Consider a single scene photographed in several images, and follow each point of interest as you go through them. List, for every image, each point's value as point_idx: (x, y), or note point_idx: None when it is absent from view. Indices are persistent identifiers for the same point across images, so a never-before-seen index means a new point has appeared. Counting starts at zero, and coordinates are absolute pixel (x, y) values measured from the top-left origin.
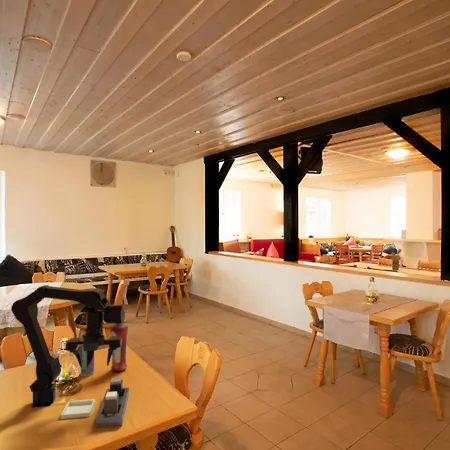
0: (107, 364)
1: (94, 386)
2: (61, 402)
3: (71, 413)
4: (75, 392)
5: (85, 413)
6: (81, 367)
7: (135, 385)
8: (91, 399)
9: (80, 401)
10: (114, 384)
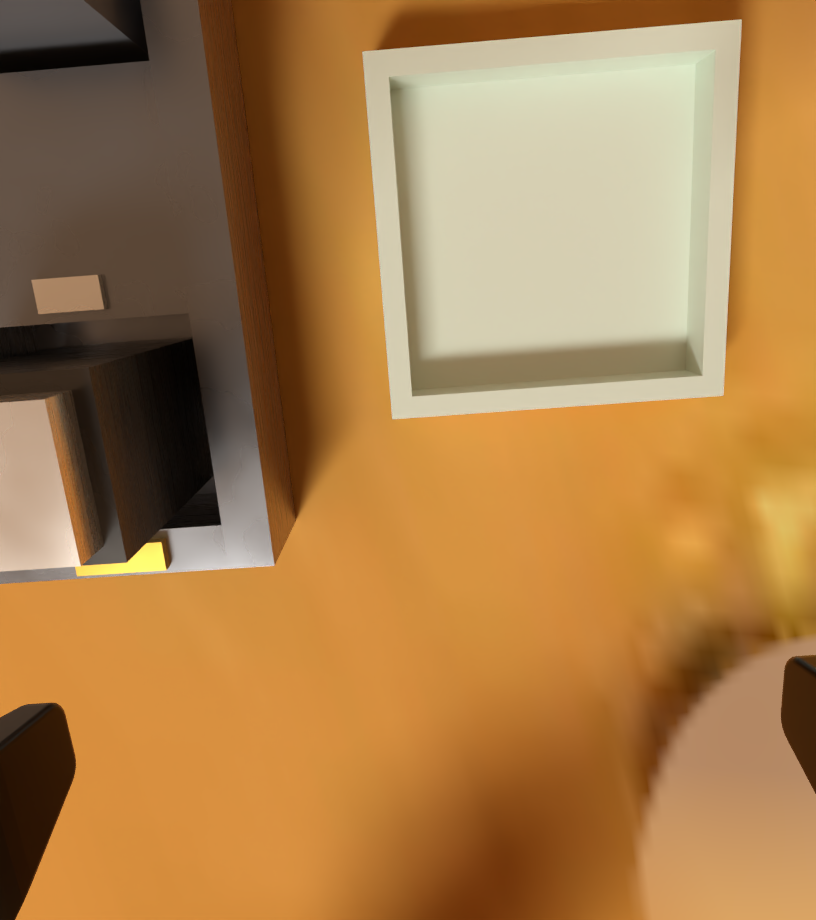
0: (16, 724)
1: (512, 793)
2: (796, 477)
3: (604, 53)
4: (690, 684)
5: (417, 49)
6: (792, 659)
7: None
8: (439, 414)
9: (568, 382)
10: (9, 388)
